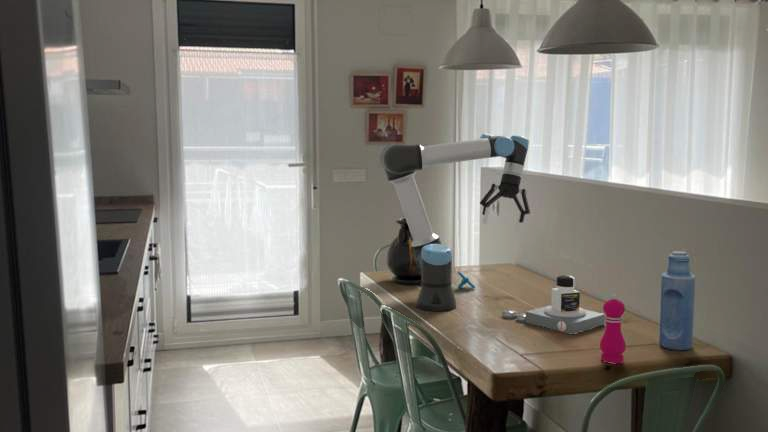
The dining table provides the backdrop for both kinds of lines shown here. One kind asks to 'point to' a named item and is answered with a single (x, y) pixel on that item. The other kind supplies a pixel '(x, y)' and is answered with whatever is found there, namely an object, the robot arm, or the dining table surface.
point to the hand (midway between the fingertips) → (500, 227)
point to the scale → (565, 319)
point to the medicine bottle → (565, 295)
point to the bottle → (677, 303)
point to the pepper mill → (613, 331)
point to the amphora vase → (403, 257)
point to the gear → (464, 281)
